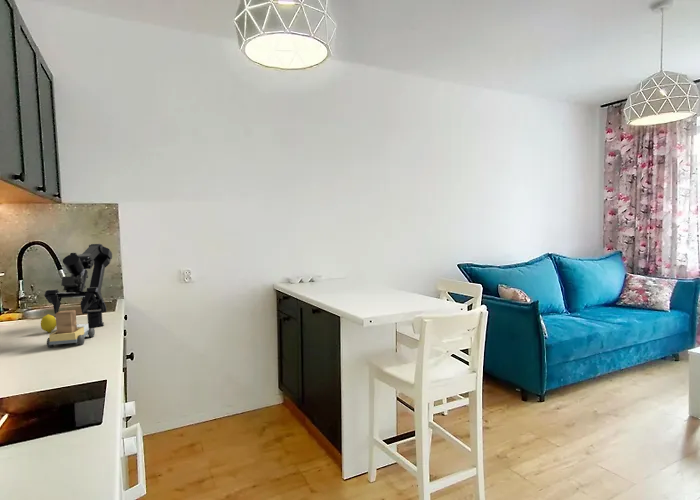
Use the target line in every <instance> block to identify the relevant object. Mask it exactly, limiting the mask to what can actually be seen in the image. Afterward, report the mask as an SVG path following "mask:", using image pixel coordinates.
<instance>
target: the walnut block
mask: <svg viewBox="0 0 700 500" xmlns="http://www.w3.org/2000/svg"><path fill="white" fill-rule="evenodd" d="M55 319H56V327H55V328H56V331H57V334H62V333H74V332H75V331H77V324H78V323H77V312H76V309H71V310H60V311H58V313H56V314H55Z"/></svg>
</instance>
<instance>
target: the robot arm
mask: <svg viewBox="0 0 700 500" xmlns="http://www.w3.org/2000/svg"><path fill="white" fill-rule="evenodd" d="M112 259H113V253H112V251H111V250H110V248H108V247H106V246H104V245H103V243H102V244H101V243H91V244H89V245H88V247H87V248H86V249H85V250H84V251H83V252H82V253H80V254H78V253H77V252H70V254H69V255H66V256H65V257H64V258H62V263H63V266H64V267H65V269H66V270H67V272H68V274H70V276H62V277H61V284H60V285H61V286H62V287H63V290H64V291H63V292H61V291H59V290H58V289H47V290H45V291H44V294H43V295H44V298H45V299H46V300H47V302H48V303H49V304H52V306H53V311H54V315H56V313H58V312H60V311H59V310H60V307H61V305H62V304H61V302H62V298H63V299H64V298H81V300H80V310H81V314H82V315H84V314H86V315H87V318H86V319H87V324H88V326H89V328H97V327H104V326H105V324H104V322H103V313H106V312H107V305H106V303H105V301H104V298H103V296H102V286H103V280H104V277H105V270H106V268H107V267H108V266H109V265H110V264H111V261H112ZM92 268H93V269H92ZM91 269H92V273H91V278H90V284H89V286H88V287H86V282H87V279H89V275H88V274H89V273H88V270H91ZM85 289H86V291H84V290H85Z"/></svg>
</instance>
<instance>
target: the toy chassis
mask: <svg viewBox="0 0 700 500" xmlns="http://www.w3.org/2000/svg"><path fill="white" fill-rule="evenodd" d="M95 333H96V332H95V327H90V328H89V326H88V323H80V324H78V323H77V331H75V332H74V333H62V334H57V330H56V331H54V332H52V333H50V334H49V335H48V336H49V337H48V338H47V339H46V347H48V348H53V347H54V346H55V345H63V344H77V345H80V346H81V345H84V344H85V341H86V340H85V337H87V336H88V338H94V337H95V335H96V334H95Z"/></svg>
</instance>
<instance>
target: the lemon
mask: <svg viewBox="0 0 700 500" xmlns="http://www.w3.org/2000/svg"><path fill="white" fill-rule="evenodd" d="M40 327H41V329H42V330H43V331H44V332H47V333H50V334H51V332H53V331H54V330H55V329H56V328H57V327H56V316H54V315H52V314H49V313H48V314H47V313H46V315H44V316H43V317H41V321H40Z"/></svg>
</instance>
